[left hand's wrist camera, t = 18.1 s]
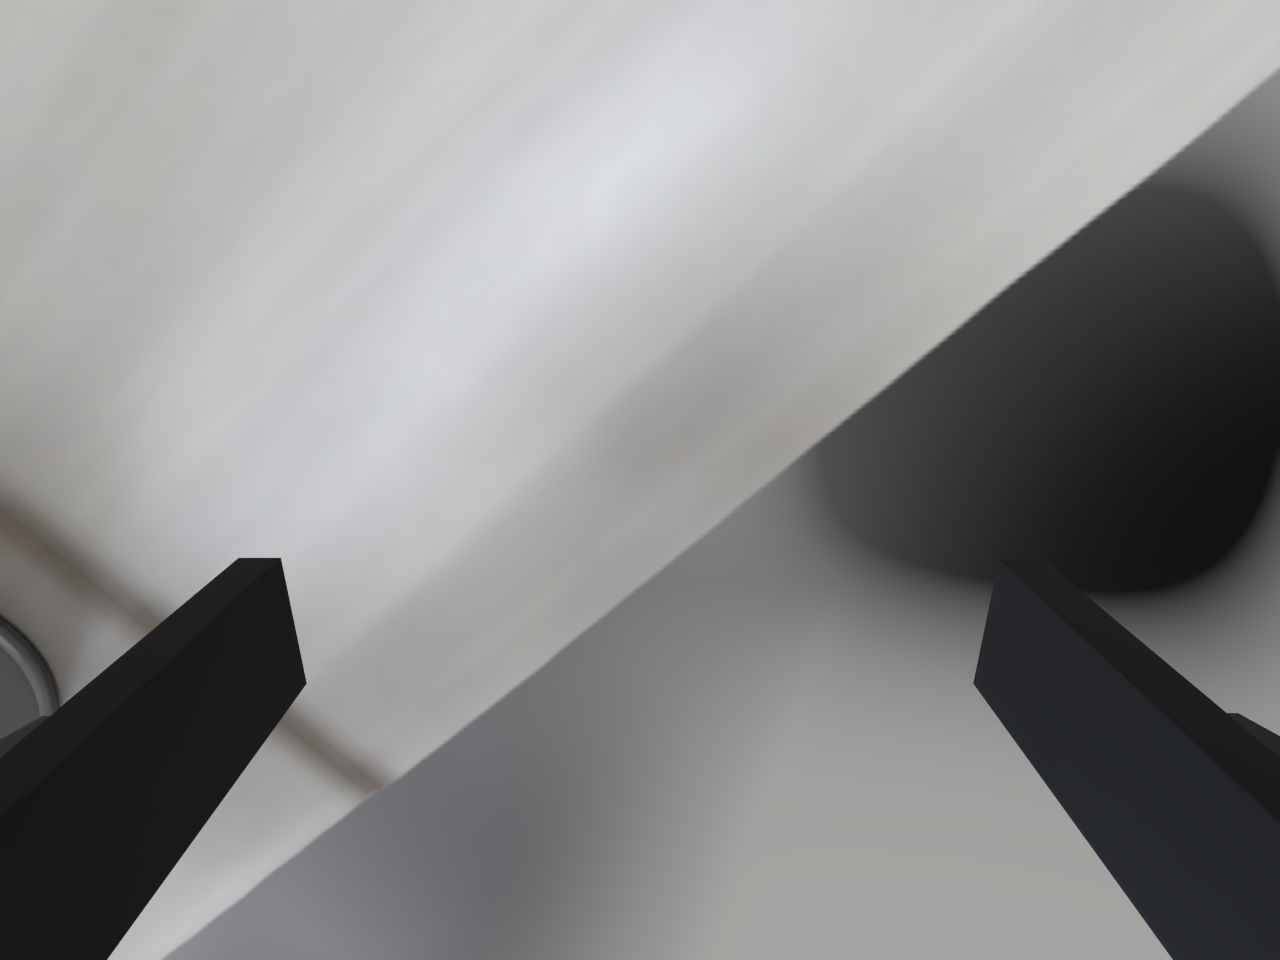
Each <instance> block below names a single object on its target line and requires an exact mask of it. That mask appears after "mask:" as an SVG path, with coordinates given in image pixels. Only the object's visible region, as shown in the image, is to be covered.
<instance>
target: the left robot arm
mask: <svg viewBox="0 0 1280 960" xmlns="http://www.w3.org/2000/svg"><path fill="white" fill-rule="evenodd" d="M306 684H307V683H306V678H305V674H304V669H303V664H302V659H301V654H300V649H299V644H298V640H297V635H296V630H295V625H294V620H293V615H292V610H291V606H290V601H289V596H288V591H287V586H286V581H285V577H284V572H283V567H282V562H281V558H238V559H237V560H236V561H235V562H233V563H232V564H231V565H230V566H229V567H227V568H226V569H225V570H224V571H223V572H221V573H220V574H219V575H218V576H217V577H215V578H214V579H213V580H212V581H211V582H210V583H208V584H207V585H206V586H205V587H204V588H202V589H201V590H200V591H199V592H198V593H196V594H195V595H194V596H193V597H192V598H190V599H189V600H188V601H187V602H186V603H184V604H183V605H182V606H181V607H180V608H178V609H177V610H176V611H175V612H174V613H172V614H171V615H170V616H169V617H168V618H166V619H165V620H164V621H163V622H162V623H161V624H159V625H158V626H157V627H156V628H155V629H153V630H152V631H151V632H150V633H149V634H147V635H146V636H145V637H144V638H143V639H141V640H140V641H139V642H138V643H137V644H135V645H134V646H133V647H132V648H131V649H129V650H128V651H127V652H126V653H125V654H123V655H122V656H121V657H120V658H119V659H117V660H116V661H115V662H114V663H113V664H112V665H110V666H109V667H108V668H107V669H106V670H104V671H103V672H102V673H101V674H100V675H98V676H97V677H96V678H95V679H94V680H92V681H91V682H90V683H89V684H88V685H86V686H85V687H84V688H83V689H82V690H80V691H79V692H78V693H77V694H76V695H74V696H73V697H72V698H71V699H70V700H68V701H67V702H66V703H65V704H64V705H63V706H61V707H60V708H59V709H58V710H57V696H56V691H55V687H54V684H53V681H52V678H51V676H50V674H49V672H48V670H47V668H46V666H45V664H44V663H43V661H42V660H41V658H40V657H39V655H38V654H37V652H36V651H35V650H34V649H33V647H32V646H31V645H30V644H29V643H28V642H27V641H26V640H25V639H24V637H22V636H21V635H20V634H19V633H18V632H17V631H16V630H15V629H14V628H12V627H11V626H10V625H9V624H7V623H6V622H5V621H3V620H2V619H1V618H0V960H107V959H108V957H109V956H110V955H111V953H112V952H113V951H114V949H115V948H116V946H117V945H118V944H119V942H120V941H121V940H122V938H123V937H124V935H125V934H126V933H127V931H128V930H129V928H130V927H131V926H132V924H133V923H134V922H135V920H136V919H137V917H138V916H139V915H140V913H141V912H142V910H143V909H144V908H145V906H146V905H147V904H148V902H149V901H150V899H151V898H152V897H153V895H154V894H155V892H156V891H157V890H158V888H159V887H160V886H161V884H162V883H163V881H164V880H165V879H166V877H167V876H168V874H169V873H170V872H171V870H172V869H173V868H174V866H175V865H176V863H177V862H178V861H179V859H180V858H181V857H182V855H183V854H184V852H185V851H186V850H187V848H188V847H189V845H190V844H191V843H192V841H193V840H194V839H195V837H196V836H197V834H198V833H199V832H200V830H201V829H202V827H203V826H204V825H205V823H206V822H207V821H208V819H209V818H210V816H211V815H212V814H213V812H214V811H215V809H216V808H217V807H218V805H219V804H220V803H221V801H222V800H223V798H224V797H225V796H226V794H227V793H228V792H229V790H230V789H231V787H232V786H233V785H234V783H235V782H236V780H237V779H238V778H239V776H240V775H241V774H242V772H243V771H244V769H245V768H246V767H247V765H248V764H249V762H250V761H251V760H252V758H253V757H254V756H255V754H256V753H257V751H258V750H259V749H260V747H261V746H262V744H263V743H264V742H265V740H266V739H267V738H268V736H269V735H270V733H271V732H272V731H273V729H274V728H275V726H276V725H277V724H278V722H279V721H280V720H281V718H282V717H283V715H284V714H285V713H286V711H287V710H288V709H289V707H290V706H291V704H292V703H293V702H294V700H295V699H296V697H297V696H298V695H299V693H300V692H301V691H302V689H303V688H304V686H305V685H306ZM974 685H975V686H976V688H977V689H978V691H979V692H980V693H981V695H982V696H983V697H984V699H985V700H986V702H987V703H988V704H989V706H990V707H991V709H992V710H993V711H994V713H995V714H996V715H997V717H998V718H999V720H1000V721H1001V722H1002V724H1003V725H1004V726H1005V728H1006V729H1007V731H1008V732H1009V733H1010V735H1011V736H1012V738H1013V739H1014V740H1015V742H1016V743H1017V744H1018V746H1019V747H1020V749H1021V750H1022V751H1023V753H1024V754H1025V756H1026V757H1027V758H1028V760H1029V761H1030V762H1031V764H1032V765H1033V766H1034V768H1035V769H1036V771H1037V772H1038V774H1039V775H1040V776H1041V778H1042V779H1043V780H1044V782H1045V783H1046V785H1047V786H1048V787H1049V789H1050V790H1051V791H1052V793H1053V794H1054V796H1055V797H1056V798H1057V800H1058V801H1059V803H1060V804H1061V805H1062V807H1063V808H1064V809H1065V811H1066V812H1067V813H1068V815H1069V816H1070V818H1071V819H1072V821H1073V822H1074V823H1075V825H1076V826H1077V827H1078V829H1079V830H1080V832H1081V833H1082V834H1083V836H1084V837H1085V839H1086V840H1087V841H1088V843H1089V844H1090V845H1091V847H1092V848H1093V850H1094V851H1095V852H1096V854H1097V855H1098V857H1099V858H1100V859H1101V861H1102V862H1103V863H1104V865H1105V866H1106V868H1107V869H1108V870H1109V872H1110V873H1111V874H1112V876H1113V877H1114V879H1115V880H1116V881H1117V883H1118V884H1119V885H1120V887H1121V888H1122V890H1123V891H1124V892H1125V894H1126V895H1127V897H1128V898H1129V899H1130V901H1131V902H1132V904H1133V905H1134V906H1135V908H1136V909H1137V910H1138V912H1139V913H1140V915H1141V916H1142V917H1143V919H1144V920H1145V921H1146V923H1147V924H1148V926H1149V927H1150V928H1151V930H1152V931H1153V933H1154V934H1155V935H1156V937H1157V938H1158V940H1159V941H1160V942H1161V944H1162V945H1163V946H1164V948H1165V949H1166V951H1167V952H1168V953H1169V955H1170V956H1171V957H1172V959H1173V960H1280V736H1278V735H1276V734H1275V733H1273V732H1271V731H1269V730H1267V729H1266V728H1264V727H1262V726H1260V725H1258V724H1256V723H1255V722H1253V721H1251V720H1249V719H1247V718H1246V717H1244V716H1242V715H1240V714H1238V713H1226V712H1225V711H1223V710H1222V709H1221V708H1220V707H1219V706H1217V705H1216V704H1215V703H1214V702H1213V701H1212V700H1210V699H1209V698H1208V697H1207V696H1206V695H1204V694H1203V693H1202V692H1201V691H1200V690H1198V689H1197V688H1196V687H1195V686H1194V685H1192V684H1191V683H1190V682H1189V681H1188V680H1186V679H1185V678H1184V677H1183V676H1182V675H1180V674H1179V673H1178V672H1177V671H1176V670H1174V669H1173V668H1172V667H1171V666H1170V665H1168V664H1167V663H1166V662H1165V661H1164V660H1163V659H1161V658H1160V657H1159V656H1158V655H1157V654H1155V653H1154V652H1153V651H1152V650H1151V649H1149V648H1148V647H1147V646H1146V645H1145V644H1143V643H1142V642H1141V641H1140V640H1139V639H1137V638H1136V637H1135V636H1134V635H1133V634H1131V633H1130V632H1129V631H1128V630H1127V629H1125V628H1124V627H1123V626H1122V625H1121V624H1119V623H1118V622H1117V621H1116V620H1115V619H1113V618H1112V617H1111V616H1110V615H1109V614H1108V613H1106V612H1105V611H1104V610H1103V609H1102V608H1100V607H1099V606H1098V605H1097V604H1096V603H1094V602H1093V601H1092V600H1091V599H1090V598H1088V597H1087V596H1086V595H1085V594H1084V593H1082V592H1081V591H1080V590H1079V589H1078V588H1076V587H1075V586H1074V585H1073V584H1072V583H1070V582H1069V581H1068V580H1067V579H1066V578H1064V577H1063V576H1062V575H1061V574H1060V573H1059V572H1057V571H1056V570H1055V569H1054V568H1053V567H1051V566H1050V565H1049V564H1048V563H1047V562H1045V561H1044V560H1043V559H1042V558H999V562H998V567H997V572H996V577H995V581H994V586H993V591H992V596H991V601H990V606H989V610H988V616H987V620H986V625H985V630H984V635H983V640H982V644H981V649H980V654H979V659H978V664H977V669H976V674H975V678H974Z"/></svg>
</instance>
